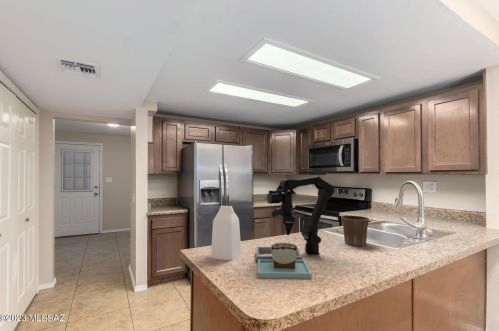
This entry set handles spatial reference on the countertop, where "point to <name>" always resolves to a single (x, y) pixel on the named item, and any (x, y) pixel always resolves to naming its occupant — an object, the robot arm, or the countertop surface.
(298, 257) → the grey rectangular frame
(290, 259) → the food container
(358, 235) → the plant pot
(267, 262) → the tray
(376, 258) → the countertop surface
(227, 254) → the milk
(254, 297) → the countertop surface
